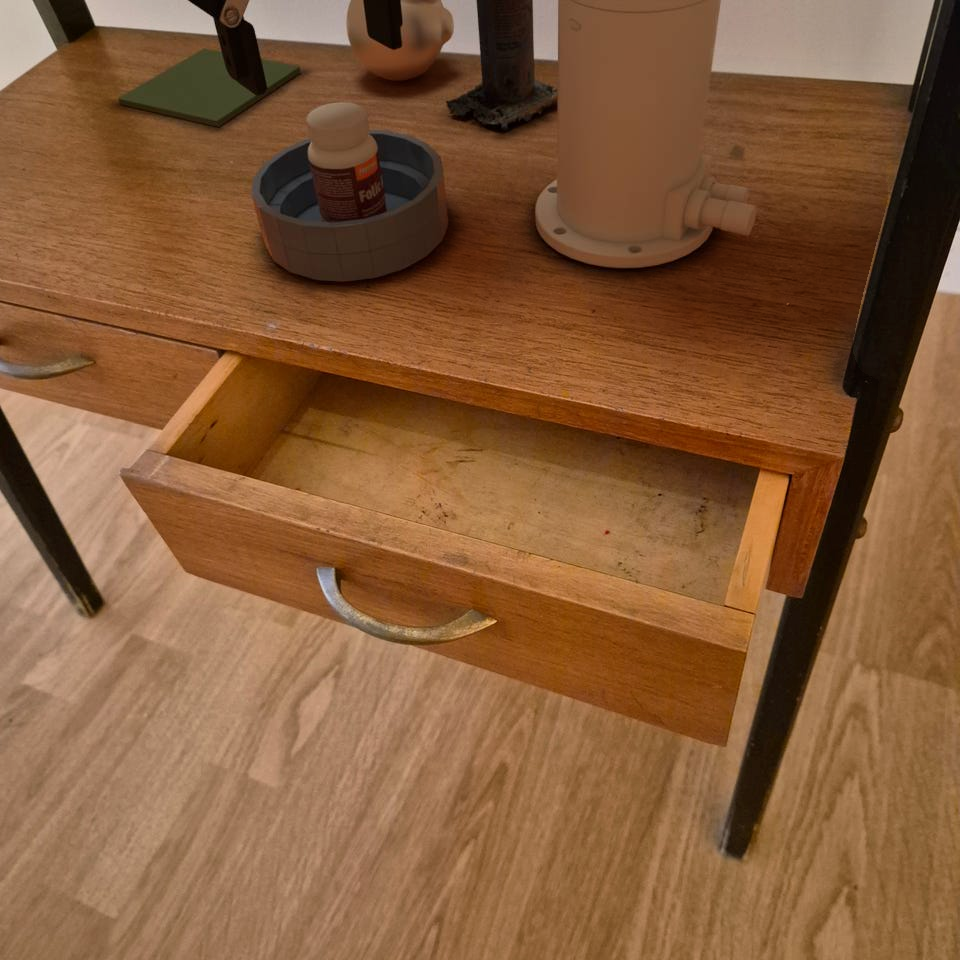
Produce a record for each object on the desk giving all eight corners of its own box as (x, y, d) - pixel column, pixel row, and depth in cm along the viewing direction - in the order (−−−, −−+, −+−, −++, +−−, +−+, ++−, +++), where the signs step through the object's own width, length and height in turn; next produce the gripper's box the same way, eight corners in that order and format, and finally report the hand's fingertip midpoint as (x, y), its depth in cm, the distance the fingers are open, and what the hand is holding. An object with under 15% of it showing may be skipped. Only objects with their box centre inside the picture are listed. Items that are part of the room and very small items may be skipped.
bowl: (480, 206, 65) (476, 149, 62) (383, 304, 58) (373, 244, 54) (336, 172, 70) (325, 117, 67) (229, 257, 62) (211, 200, 59)
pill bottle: (379, 248, 62) (360, 133, 55) (315, 244, 62) (289, 130, 56) (397, 212, 65) (380, 99, 58) (335, 209, 66) (313, 97, 59)
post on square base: (511, 139, 72) (506, -21, 63) (442, 115, 76) (428, -39, 67) (577, 98, 76) (580, -57, 67) (508, 77, 80) (503, -72, 71)
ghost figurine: (436, 102, 77) (424, -22, 70) (339, 93, 80) (318, -28, 72) (469, 60, 83) (461, -59, 76) (378, 52, 85) (362, -63, 78)
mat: (301, 72, 83) (299, 66, 83) (218, 127, 77) (216, 120, 76) (205, 54, 88) (204, 48, 87) (119, 104, 81) (117, 98, 80)
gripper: (115, -264, 37) (221, 128, 50) (447, -314, 44) (466, 44, 56) (57, -280, 41) (168, 86, 54) (368, -323, 48) (402, 12, 60)
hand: (320, 64), depth 55 cm, fingers open, 9 cm apart
